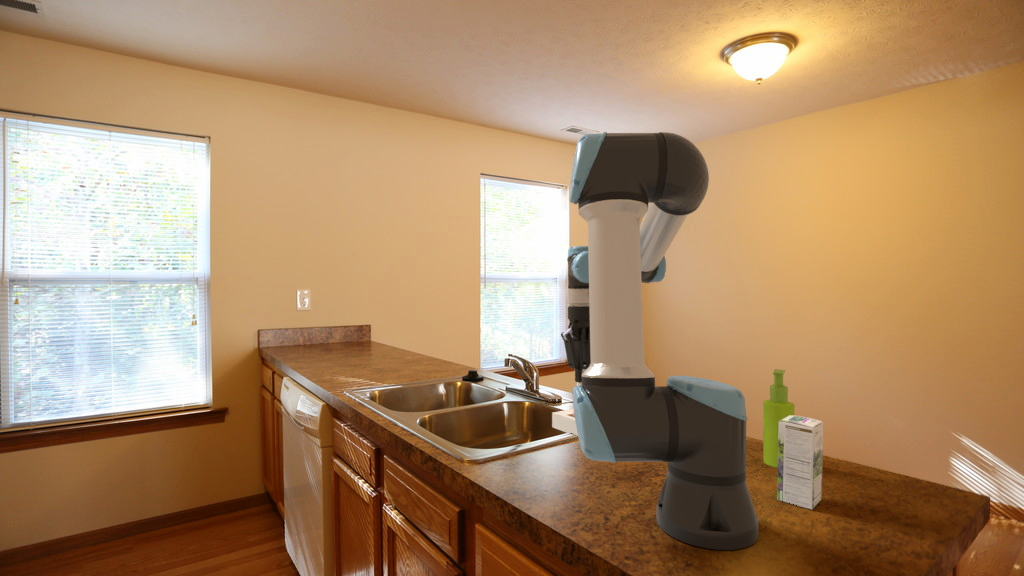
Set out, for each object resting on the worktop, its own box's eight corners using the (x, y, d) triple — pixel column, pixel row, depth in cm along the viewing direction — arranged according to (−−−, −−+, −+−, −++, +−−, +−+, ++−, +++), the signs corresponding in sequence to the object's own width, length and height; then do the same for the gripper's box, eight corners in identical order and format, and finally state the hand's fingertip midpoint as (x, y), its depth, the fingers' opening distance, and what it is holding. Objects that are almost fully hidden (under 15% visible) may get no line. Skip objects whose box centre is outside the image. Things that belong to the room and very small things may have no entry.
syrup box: (787, 491, 93) (787, 413, 93) (823, 501, 89) (823, 419, 89) (776, 500, 89) (776, 419, 89) (814, 511, 85) (814, 426, 85)
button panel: (588, 440, 124) (588, 424, 124) (552, 427, 135) (552, 412, 135) (657, 423, 138) (657, 409, 138) (619, 413, 150) (619, 399, 150)
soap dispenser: (795, 460, 109) (795, 369, 109) (793, 470, 103) (793, 374, 103) (765, 455, 112) (765, 367, 112) (761, 465, 106) (761, 371, 106)
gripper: (572, 306, 125) (573, 400, 125) (610, 304, 132) (610, 393, 133) (553, 305, 131) (554, 394, 131) (590, 303, 138) (590, 388, 139)
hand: (582, 394), depth 132 cm, fingers closed
